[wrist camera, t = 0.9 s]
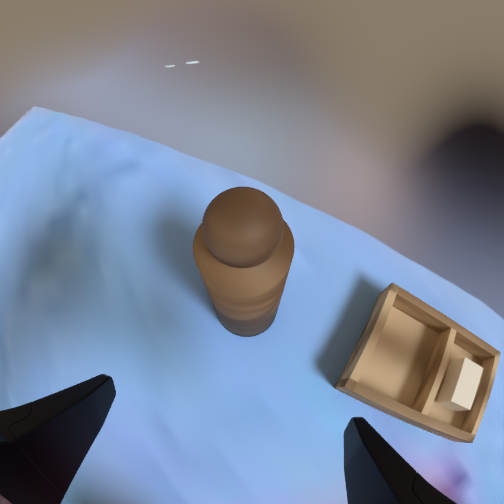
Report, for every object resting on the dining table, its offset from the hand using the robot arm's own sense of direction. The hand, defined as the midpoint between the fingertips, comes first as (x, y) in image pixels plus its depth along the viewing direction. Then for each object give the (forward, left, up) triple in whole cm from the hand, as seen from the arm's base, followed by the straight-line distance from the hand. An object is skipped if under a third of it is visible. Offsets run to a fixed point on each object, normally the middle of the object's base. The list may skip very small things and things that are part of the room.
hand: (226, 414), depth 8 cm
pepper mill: (+7, +5, -13) cm, 15 cm away
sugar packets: (+12, -17, -12) cm, 24 cm away
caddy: (+12, -13, -13) cm, 22 cm away
